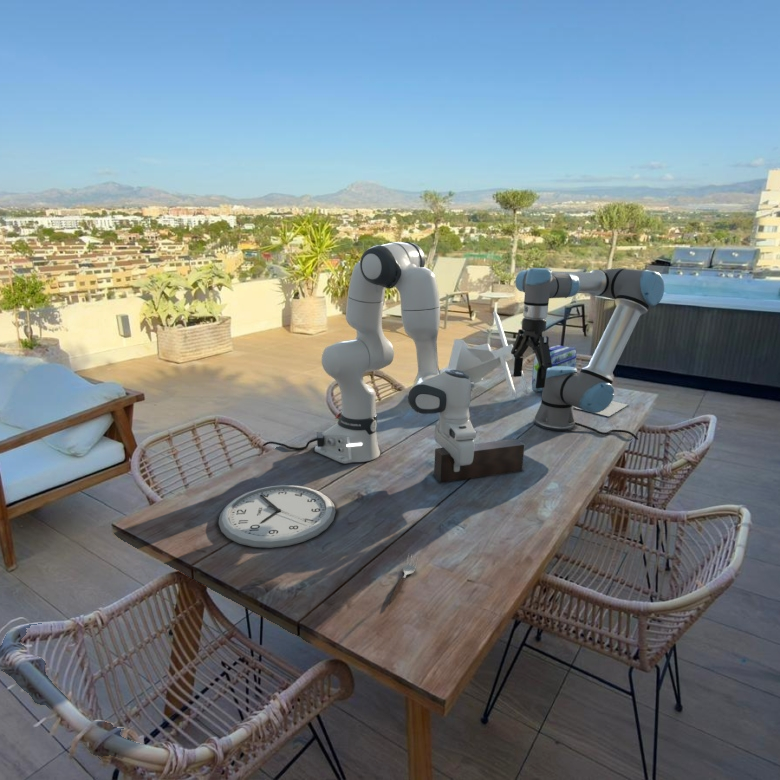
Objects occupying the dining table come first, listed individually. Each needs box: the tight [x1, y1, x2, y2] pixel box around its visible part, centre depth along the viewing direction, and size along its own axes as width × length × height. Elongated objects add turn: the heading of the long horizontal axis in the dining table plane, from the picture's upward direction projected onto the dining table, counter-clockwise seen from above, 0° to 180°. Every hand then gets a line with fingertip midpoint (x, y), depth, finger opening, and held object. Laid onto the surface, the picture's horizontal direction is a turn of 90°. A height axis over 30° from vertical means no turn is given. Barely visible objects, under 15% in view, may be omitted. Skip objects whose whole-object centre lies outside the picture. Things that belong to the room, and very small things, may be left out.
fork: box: [388, 554, 419, 606], centre depth 112 cm, size 3×16×2 cm, turn 160°
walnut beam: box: [433, 438, 525, 484], centre depth 162 cm, size 28×5×9 cm, turn 108°
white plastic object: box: [439, 310, 531, 400], centre depth 245 cm, size 37×45×31 cm
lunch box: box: [531, 345, 577, 394], centre depth 245 cm, size 26×11×21 cm, turn 134°
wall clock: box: [218, 484, 336, 549], centre depth 137 cm, size 30×2×30 cm
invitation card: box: [573, 400, 629, 418], centre depth 226 cm, size 21×1×15 cm
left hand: (451, 466), depth 159 cm, fingers closed on walnut beam, 5 cm apart
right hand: (528, 381), depth 173 cm, fingers open, 13 cm apart
